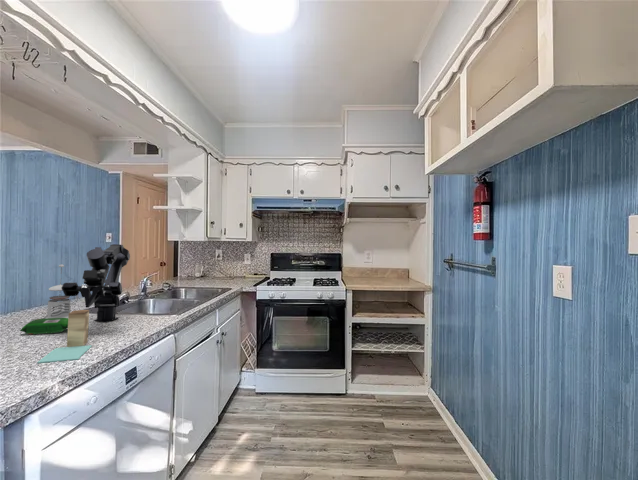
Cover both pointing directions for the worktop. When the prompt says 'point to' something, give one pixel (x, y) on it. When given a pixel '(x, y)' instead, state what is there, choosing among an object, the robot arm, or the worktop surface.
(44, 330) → the snack package
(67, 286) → the robot arm
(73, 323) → the maple block
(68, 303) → the french press
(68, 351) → the rubber mat
